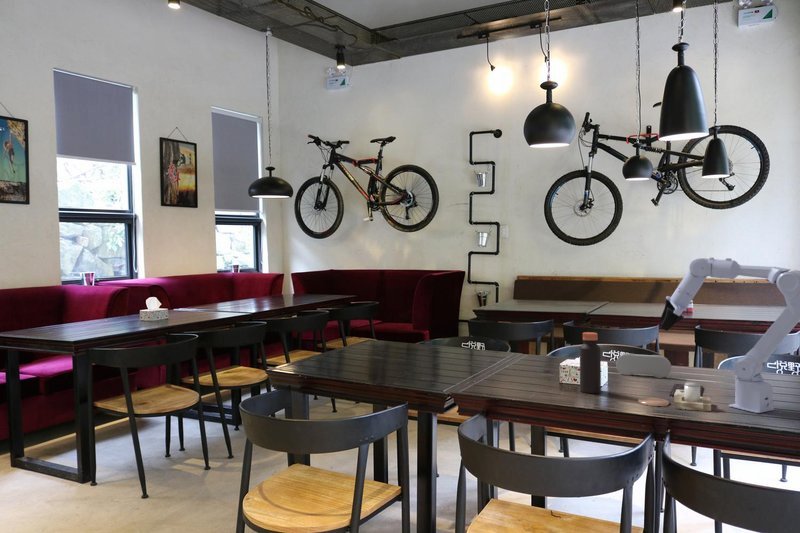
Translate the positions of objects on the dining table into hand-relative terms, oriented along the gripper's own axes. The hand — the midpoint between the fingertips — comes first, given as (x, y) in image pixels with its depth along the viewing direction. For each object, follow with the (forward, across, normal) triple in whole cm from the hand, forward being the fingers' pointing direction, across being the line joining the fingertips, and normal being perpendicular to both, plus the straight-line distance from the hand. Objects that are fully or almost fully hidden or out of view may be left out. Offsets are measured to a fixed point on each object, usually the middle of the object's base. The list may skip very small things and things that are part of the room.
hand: (663, 324), depth 205 cm
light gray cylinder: (+13, +18, +16) cm, 28 cm away
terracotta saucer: (+19, +18, +7) cm, 27 cm away
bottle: (+30, +8, -9) cm, 33 cm away
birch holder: (+13, +18, +16) cm, 28 cm away
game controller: (+29, -22, +9) cm, 38 cm away
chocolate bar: (+18, 0, +18) cm, 26 cm away
